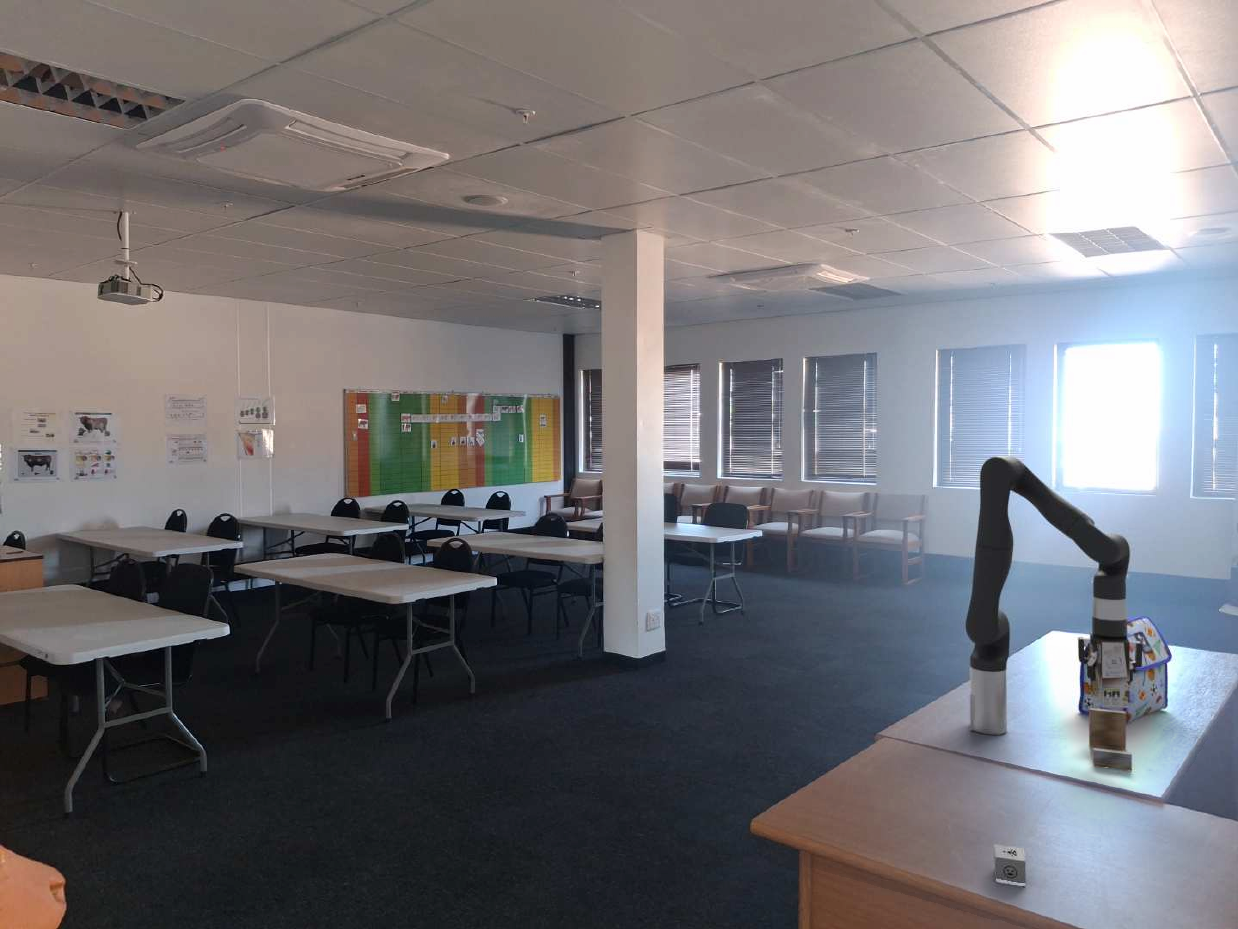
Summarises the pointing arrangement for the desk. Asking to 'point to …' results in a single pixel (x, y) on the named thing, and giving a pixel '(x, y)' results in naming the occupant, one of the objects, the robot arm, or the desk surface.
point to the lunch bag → (1137, 673)
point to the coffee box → (1111, 672)
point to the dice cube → (1009, 863)
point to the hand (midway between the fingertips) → (1109, 681)
